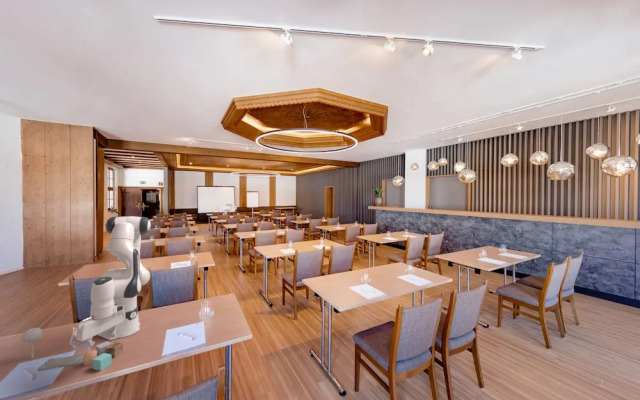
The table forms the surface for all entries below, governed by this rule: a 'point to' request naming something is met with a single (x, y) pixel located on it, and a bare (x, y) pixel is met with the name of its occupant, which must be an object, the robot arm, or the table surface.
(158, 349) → the table surface
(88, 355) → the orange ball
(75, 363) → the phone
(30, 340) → the lollipop
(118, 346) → the walnut cube
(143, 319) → the table surface
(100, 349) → the slate cube
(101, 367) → the teal cube
